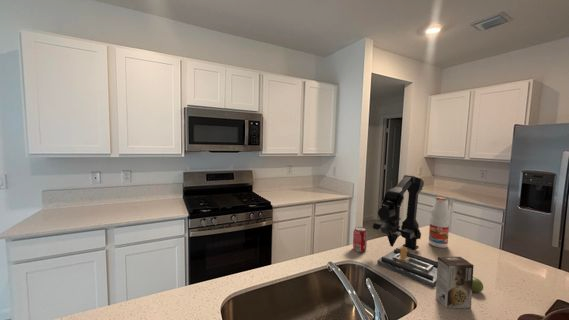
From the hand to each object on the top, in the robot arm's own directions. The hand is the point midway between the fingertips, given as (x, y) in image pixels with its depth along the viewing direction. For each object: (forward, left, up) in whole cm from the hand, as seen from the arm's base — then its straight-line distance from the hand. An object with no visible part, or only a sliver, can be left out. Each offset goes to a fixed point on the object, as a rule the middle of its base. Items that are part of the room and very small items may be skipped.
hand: (391, 246), depth 119 cm
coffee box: (+15, +30, -7) cm, 34 cm away
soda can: (+3, -16, -7) cm, 18 cm away
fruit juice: (-40, +9, -7) cm, 42 cm away
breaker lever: (0, +6, -5) cm, 8 cm away
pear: (-2, +31, -7) cm, 32 cm away
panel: (0, +10, -7) cm, 12 cm away
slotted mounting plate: (0, +10, -5) cm, 11 cm away
